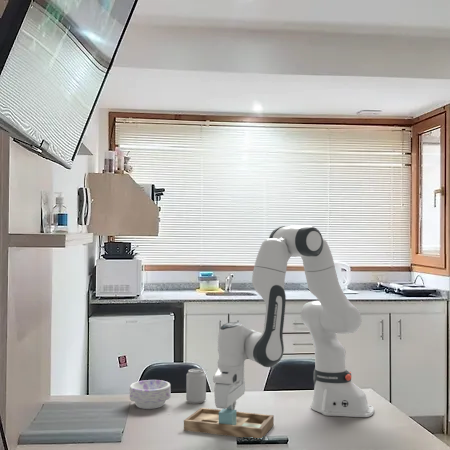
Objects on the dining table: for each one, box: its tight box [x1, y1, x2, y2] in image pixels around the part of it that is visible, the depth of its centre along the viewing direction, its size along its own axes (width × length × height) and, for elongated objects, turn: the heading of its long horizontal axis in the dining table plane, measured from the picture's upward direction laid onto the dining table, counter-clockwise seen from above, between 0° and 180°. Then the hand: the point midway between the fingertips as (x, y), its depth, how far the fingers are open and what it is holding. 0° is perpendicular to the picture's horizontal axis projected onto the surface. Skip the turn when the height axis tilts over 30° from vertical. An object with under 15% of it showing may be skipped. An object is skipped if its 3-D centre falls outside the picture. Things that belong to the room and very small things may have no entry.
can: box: [185, 368, 207, 405], centre depth 214 cm, size 8×8×12 cm
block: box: [219, 408, 237, 425], centre depth 180 cm, size 4×4×4 cm
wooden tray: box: [183, 407, 275, 438], centre depth 183 cm, size 26×15×3 cm, turn 71°
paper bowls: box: [129, 379, 172, 410], centre depth 209 cm, size 15×15×8 cm
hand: (230, 415), depth 183 cm, fingers closed
